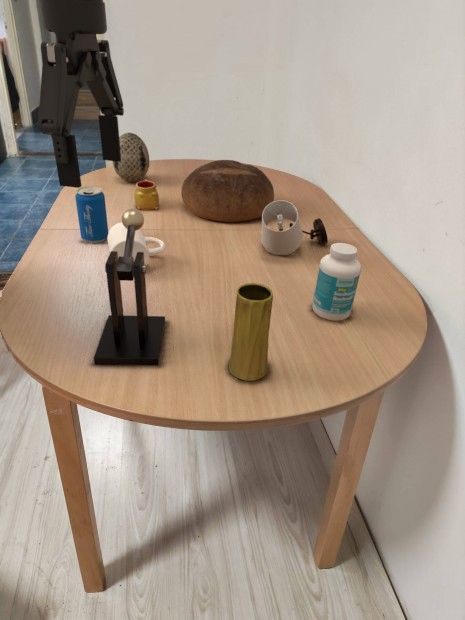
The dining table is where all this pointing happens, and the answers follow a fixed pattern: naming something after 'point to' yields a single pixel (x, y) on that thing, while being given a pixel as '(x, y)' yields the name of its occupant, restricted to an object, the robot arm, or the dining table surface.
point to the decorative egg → (132, 158)
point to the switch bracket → (129, 322)
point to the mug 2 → (146, 195)
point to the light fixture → (289, 238)
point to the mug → (119, 239)
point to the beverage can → (92, 214)
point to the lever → (129, 243)
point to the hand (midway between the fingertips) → (93, 172)
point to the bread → (227, 191)
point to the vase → (251, 331)
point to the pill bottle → (337, 282)
